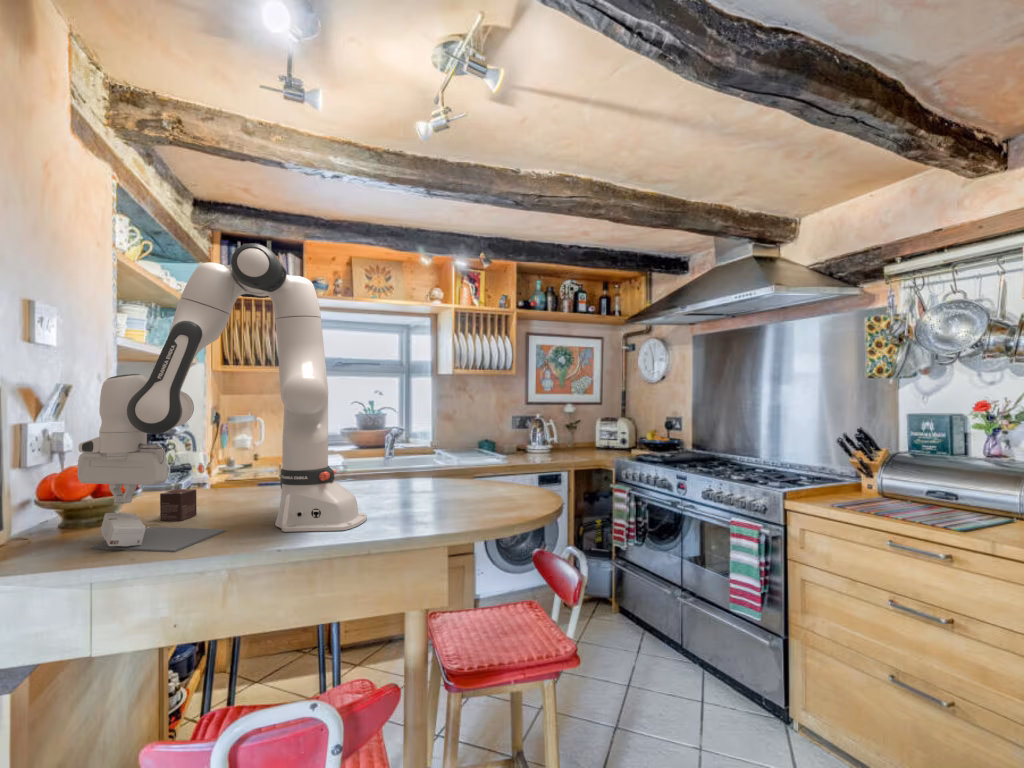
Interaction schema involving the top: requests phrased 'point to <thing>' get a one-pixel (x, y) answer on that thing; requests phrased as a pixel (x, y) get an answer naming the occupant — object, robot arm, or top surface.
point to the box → (178, 505)
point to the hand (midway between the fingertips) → (123, 503)
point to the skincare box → (122, 529)
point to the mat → (167, 539)
